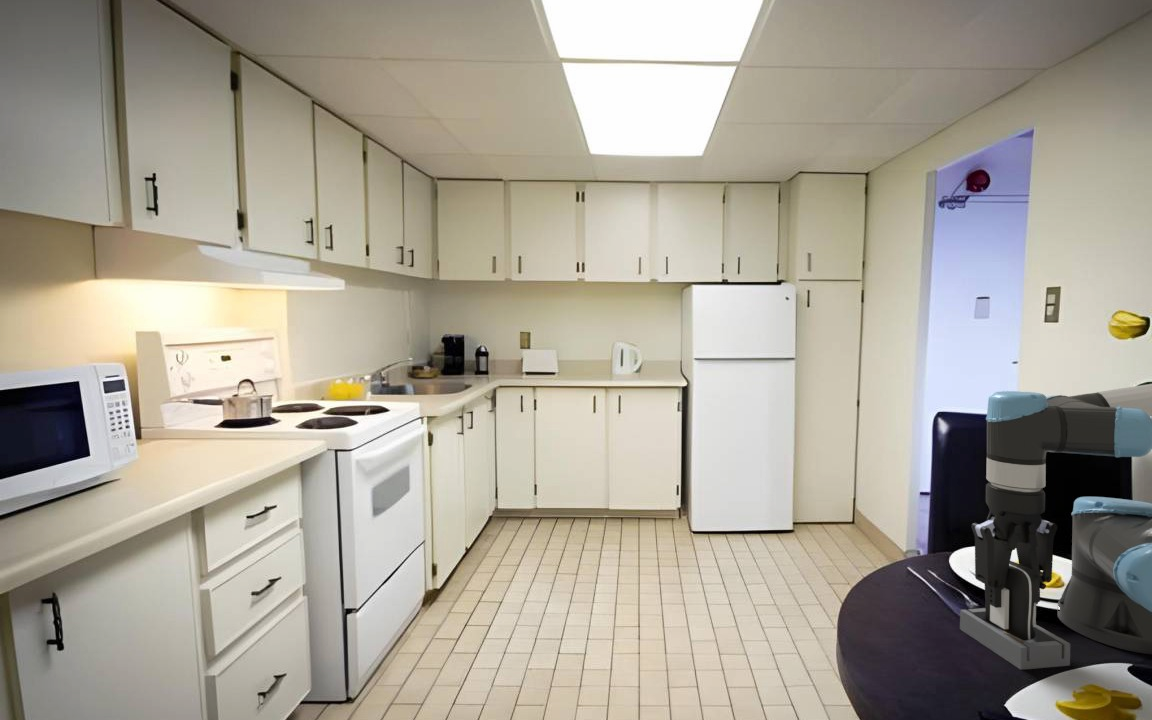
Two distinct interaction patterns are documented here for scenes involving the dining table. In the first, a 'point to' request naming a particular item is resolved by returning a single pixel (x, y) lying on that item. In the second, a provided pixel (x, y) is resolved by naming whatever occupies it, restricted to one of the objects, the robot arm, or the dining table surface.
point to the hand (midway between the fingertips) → (1012, 623)
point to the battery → (1019, 601)
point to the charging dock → (1016, 643)
